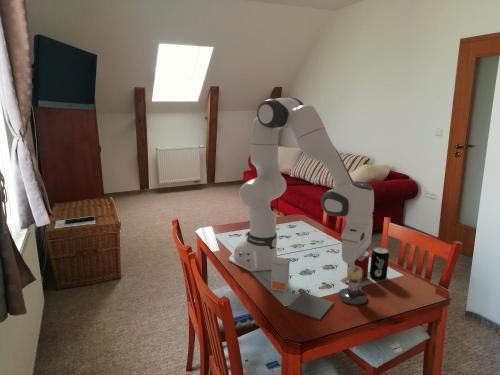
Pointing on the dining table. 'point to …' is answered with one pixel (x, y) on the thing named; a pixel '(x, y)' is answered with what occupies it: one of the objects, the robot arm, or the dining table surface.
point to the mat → (311, 305)
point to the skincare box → (280, 274)
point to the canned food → (363, 265)
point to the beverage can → (379, 263)
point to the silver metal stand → (353, 294)
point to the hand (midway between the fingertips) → (356, 265)
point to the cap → (354, 275)
